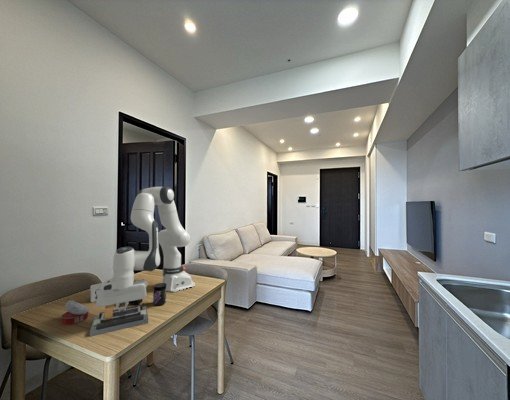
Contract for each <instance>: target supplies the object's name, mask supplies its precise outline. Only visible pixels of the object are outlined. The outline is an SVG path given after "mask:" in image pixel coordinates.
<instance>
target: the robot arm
mask: <svg viewBox="0 0 510 400" xmlns="http://www.w3.org/2000/svg"><path fill="white" fill-rule="evenodd" d="M174 199H175V192H174V190H173V189H172V188H171V187H170V186H152V187H147V188H146V187H145V188H142V189H140V190H139V191H138V192H137V195H136V197H135V199H134V202H133V205H132V208H131V213H130V221H131V223H132V224H133V226H135V227H136V228H138V229H140V230H143V231H145V232H146V233H147V235H148V240H149V241H148V247H149V248H148V250H135V249H134V248H133V247H131V246H124V247H123V246H122V247H119V248H118V249H116V250H115V252H114V257H113V260H112V270H113V275H112V276H111V277H112V278H111V279H108V280H105V281H103V282H101V283H102V284H101V286H100V291H99V293H98V296H97V297H96V298H97V301H95V305H96V307H97V308H101V307H105V306H107V305H113V306H114V305H115V307H116V308H117V309H119V311H118V313H119V312H124V311H126V308H127V307H128V305H130V304H129V301H134V300H140V299H144V300H145V299H146V297H147V287H148V280H146V279H144V278H143V279H136V280H135V272H134V271H146V272H153V271H155V270H156V269H157V268H159V266H160V264H161V255H160V254H161V252H160V247H161V251H162V255H163V267H162V278H161V283H166V284H167V286H166V292H170V293H175V292H180V291H184V290H187V289H186V288H188V289H190V288H189V287H192V288H194V287H193V286H196V283H195V281H193V280H192V276H191V275H190V274H189V273H188V272H186V267H185V266H184V265H182V254H181V252H180V251H179V250H178V248H183V247H187V246H188V245H189V244H190V242H191V236H190V233H189V232H187V230H186V229H184V227H183V225H182V224H181V222H180V219H179V215H178V210H177V206H176V203H175V200H174ZM155 206H157V211H158V215H159V220H160V223H161V226H163V227H164V228H165V229H162V230H159V224H158V222H157V221H156V220H155V218H154V217H155V216H154V214H155ZM183 289H184V290H183ZM179 290H180V291H179ZM123 303H124V306H120V304H123Z"/></svg>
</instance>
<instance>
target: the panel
mask: <svg viewBox="0 0 510 400" xmlns="http://www.w3.org/2000/svg"><path fill="white" fill-rule="evenodd" d="M118 311H119V309H118V308H117V309H113V317H112V318H107V319H104V316H105V311H102V312H99V314H98V315H94V317H93V321H92V324H91V327H90V330H89V337H93V336H98V335H102V334H106V333H111V332H115V331H119V330H124V329H128V328H131V327H132V328H133V327H136V326H141V325H145V324H148V323H149V315H148V314H149V313H148V309H147V306H146V305H145V306H143V304H138V305H132V306H127V307H126V311H124V312H119V313H118Z"/></svg>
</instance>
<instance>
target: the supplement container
mask: <svg viewBox="0 0 510 400" xmlns="http://www.w3.org/2000/svg"><path fill="white" fill-rule="evenodd" d="M166 286H167V284H166V283H162V282H159V283H156V284H153V293H152V294H153V296H152V297H153V299H152V304H153V306H155V307H159V306H163V305H165V304H166V302H167V291H166Z"/></svg>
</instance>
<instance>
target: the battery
mask: <svg viewBox="0 0 510 400" xmlns="http://www.w3.org/2000/svg"><path fill="white" fill-rule="evenodd" d="M143 302H144V301H143V299H140V300H134V301H129V304H128V305H132V306H138V305H141V303H143Z"/></svg>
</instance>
